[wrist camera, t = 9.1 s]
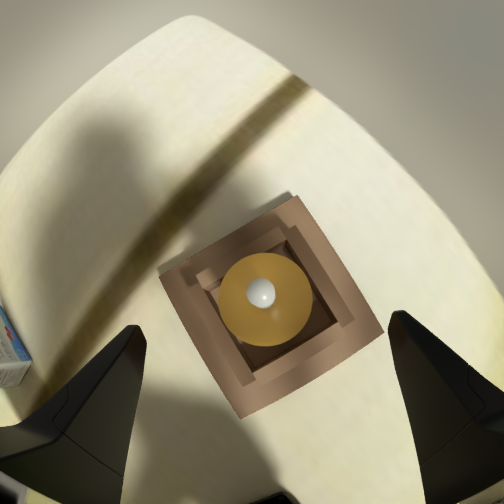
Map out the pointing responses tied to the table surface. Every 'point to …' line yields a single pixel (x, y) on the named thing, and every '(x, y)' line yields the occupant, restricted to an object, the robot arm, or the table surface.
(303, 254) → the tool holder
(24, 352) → the medicine box
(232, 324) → the yellow cylindrical piece
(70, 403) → the robot arm
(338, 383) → the table surface
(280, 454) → the table surface
